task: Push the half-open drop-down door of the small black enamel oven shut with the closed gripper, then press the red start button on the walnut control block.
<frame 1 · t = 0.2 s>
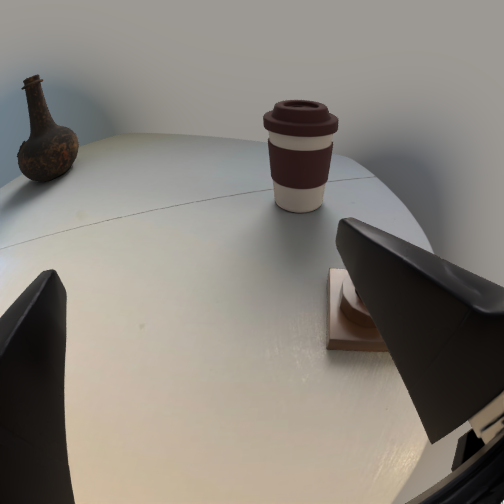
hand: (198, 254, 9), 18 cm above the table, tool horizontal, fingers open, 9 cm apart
control block: (365, 313, 28), on the table
coffee cup: (298, 202, 45), on the table
start button: (375, 286, 25), point 4 cm above the table, slide at 0.1 cm
glass bottle: (54, 174, 64), on the table
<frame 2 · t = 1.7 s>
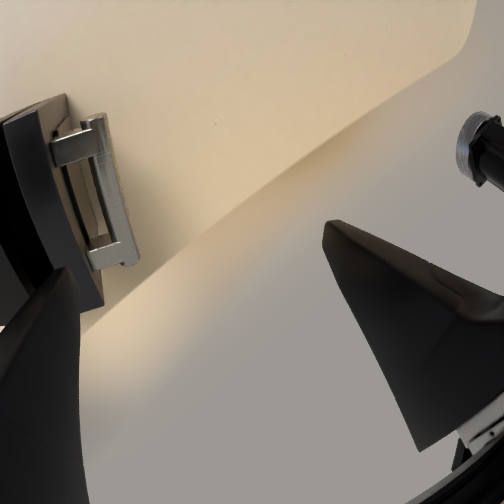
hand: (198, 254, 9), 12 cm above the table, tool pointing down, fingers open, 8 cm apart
oven door: (83, 182, 14), point 4 cm above the table, hinge at 12.6°
oven: (4, 186, 15), on the table
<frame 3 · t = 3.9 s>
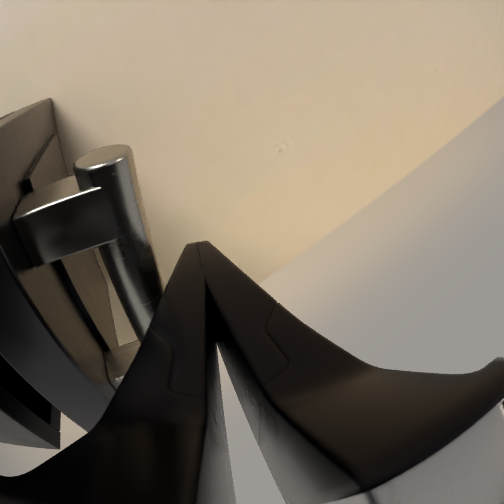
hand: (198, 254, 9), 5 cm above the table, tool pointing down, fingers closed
oven door: (86, 253, 9), point 4 cm above the table, hinge at 12.4°, touching gripper
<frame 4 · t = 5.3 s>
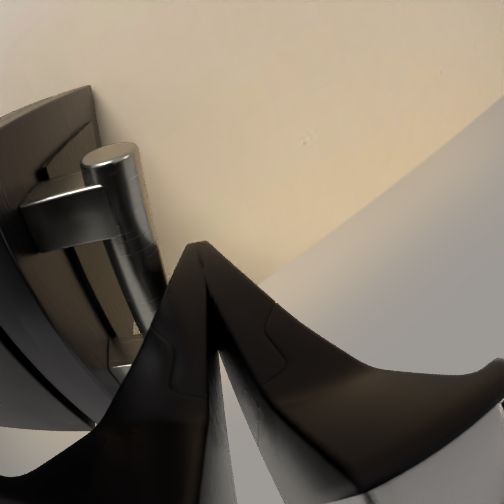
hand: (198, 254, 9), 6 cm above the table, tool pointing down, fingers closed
oven door: (107, 241, 9), point 5 cm above the table, hinge at -0.4°, touching gripper
oven: (0, 218, 11), on the table
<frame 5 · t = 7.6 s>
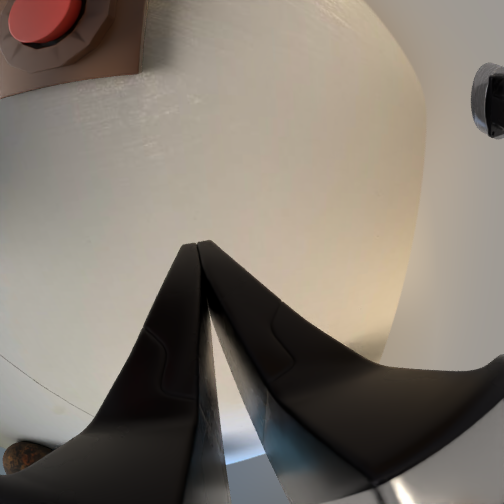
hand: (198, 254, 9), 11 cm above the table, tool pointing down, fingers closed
control block: (70, 18, 10), on the table
start button: (45, 10, 7), point 4 cm above the table, slide at 0.1 cm
glass bottle: (37, 447, 43), on the table
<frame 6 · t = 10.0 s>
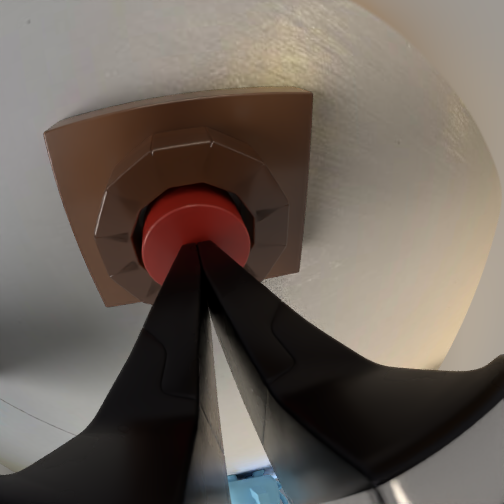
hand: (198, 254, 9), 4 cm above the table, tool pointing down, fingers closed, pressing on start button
control block: (185, 191, 12), on the table
start button: (193, 237, 9), point 3 cm above the table, slide at -0.6 cm, touching gripper
teapot: (234, 477, 55), on the table
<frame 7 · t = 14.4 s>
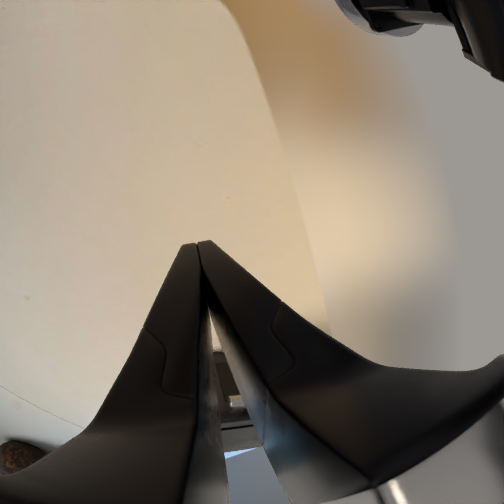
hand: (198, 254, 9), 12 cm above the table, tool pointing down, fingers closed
glass bottle: (26, 446, 44), on the table
oven door: (254, 380, 30), point 5 cm above the table, hinge at -0.1°
oven: (231, 379, 37), on the table
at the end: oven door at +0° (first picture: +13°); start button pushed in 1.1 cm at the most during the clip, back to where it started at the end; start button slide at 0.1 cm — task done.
